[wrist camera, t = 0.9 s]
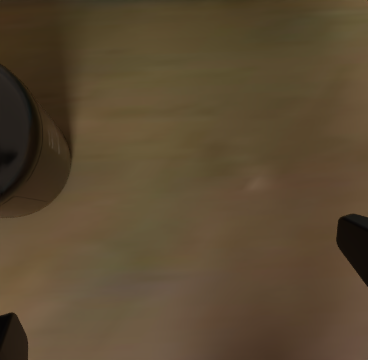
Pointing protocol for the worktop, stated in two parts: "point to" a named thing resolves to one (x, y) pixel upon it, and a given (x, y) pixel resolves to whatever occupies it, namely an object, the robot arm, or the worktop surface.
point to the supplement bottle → (28, 151)
